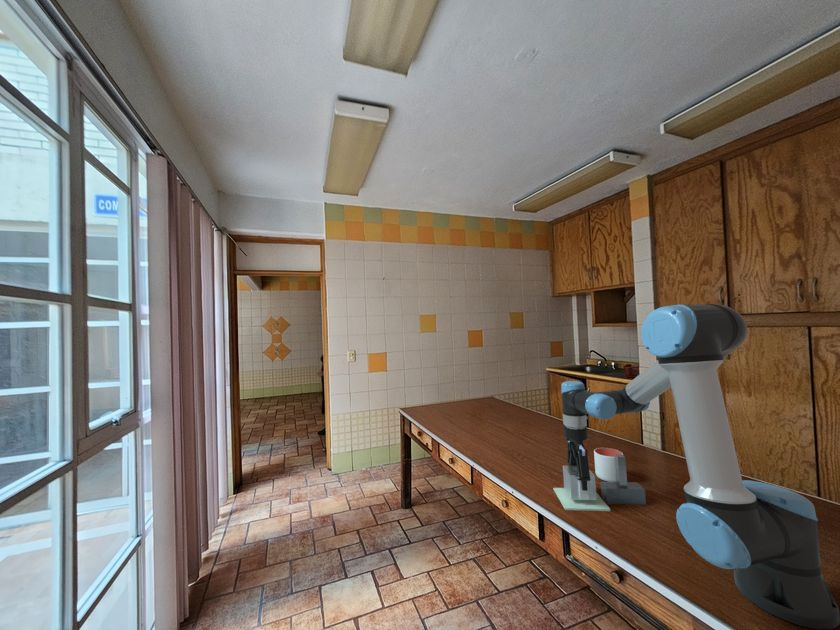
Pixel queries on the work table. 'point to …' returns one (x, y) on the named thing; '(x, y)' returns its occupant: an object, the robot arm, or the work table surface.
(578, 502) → the mat
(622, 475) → the grey block
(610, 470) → the cup
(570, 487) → the collar
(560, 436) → the work table surface
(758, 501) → the robot arm
